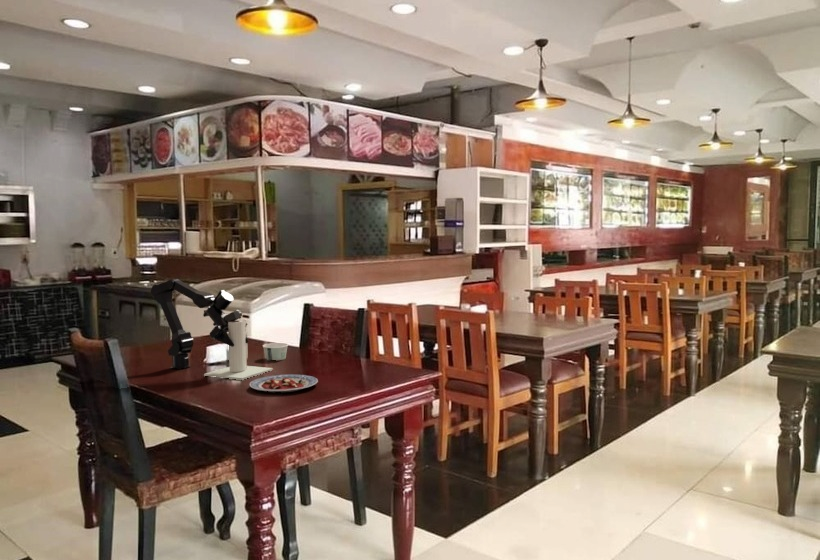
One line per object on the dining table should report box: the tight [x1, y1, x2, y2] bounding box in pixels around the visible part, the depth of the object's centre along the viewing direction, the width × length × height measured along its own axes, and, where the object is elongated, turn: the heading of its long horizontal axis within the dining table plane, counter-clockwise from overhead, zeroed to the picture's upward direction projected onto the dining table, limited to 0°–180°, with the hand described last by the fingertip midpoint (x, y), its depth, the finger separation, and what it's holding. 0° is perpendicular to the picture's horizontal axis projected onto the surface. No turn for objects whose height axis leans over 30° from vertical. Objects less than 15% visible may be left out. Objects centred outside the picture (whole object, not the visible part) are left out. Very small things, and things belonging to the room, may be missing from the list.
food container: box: [262, 342, 289, 361], centre depth 293 cm, size 12×12×6 cm
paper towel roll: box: [227, 320, 248, 372], centre depth 261 cm, size 7×6×21 cm
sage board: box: [203, 365, 274, 381], centre depth 262 cm, size 20×20×1 cm
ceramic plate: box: [249, 374, 319, 393], centre depth 238 cm, size 26×26×3 cm
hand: (240, 344), depth 261 cm, fingers open, 9 cm apart
